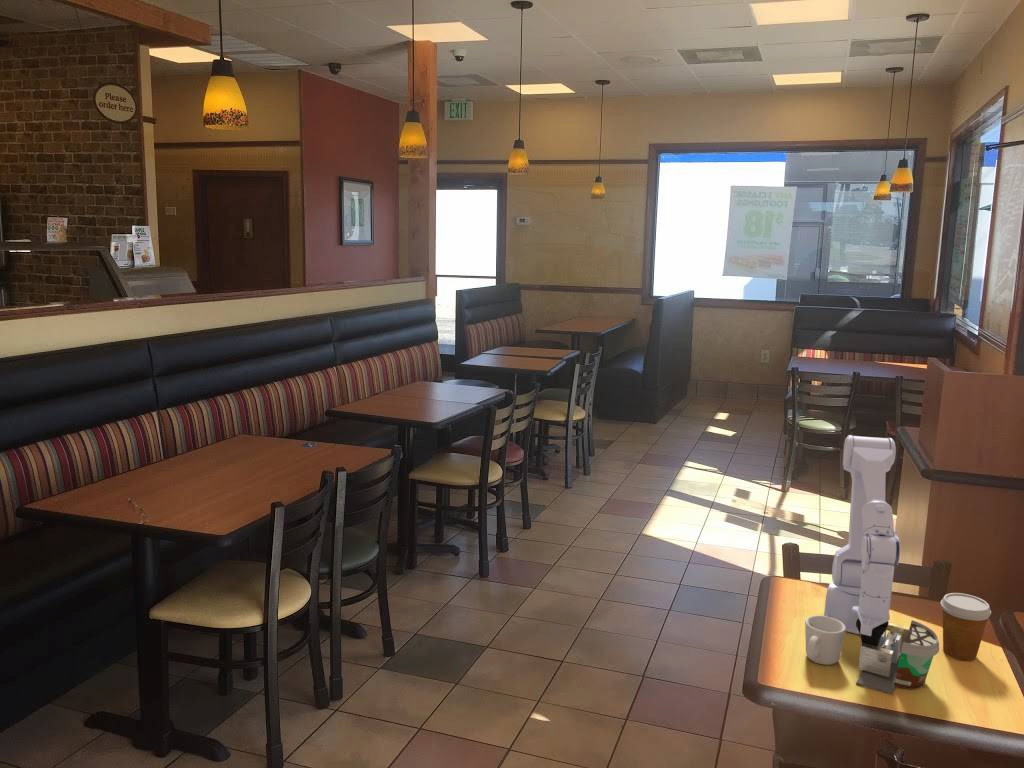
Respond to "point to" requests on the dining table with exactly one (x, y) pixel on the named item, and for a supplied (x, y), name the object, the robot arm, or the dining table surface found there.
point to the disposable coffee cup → (963, 625)
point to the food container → (916, 656)
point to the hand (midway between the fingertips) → (868, 654)
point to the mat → (879, 679)
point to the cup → (824, 639)
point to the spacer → (898, 631)
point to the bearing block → (895, 646)
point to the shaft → (878, 656)
